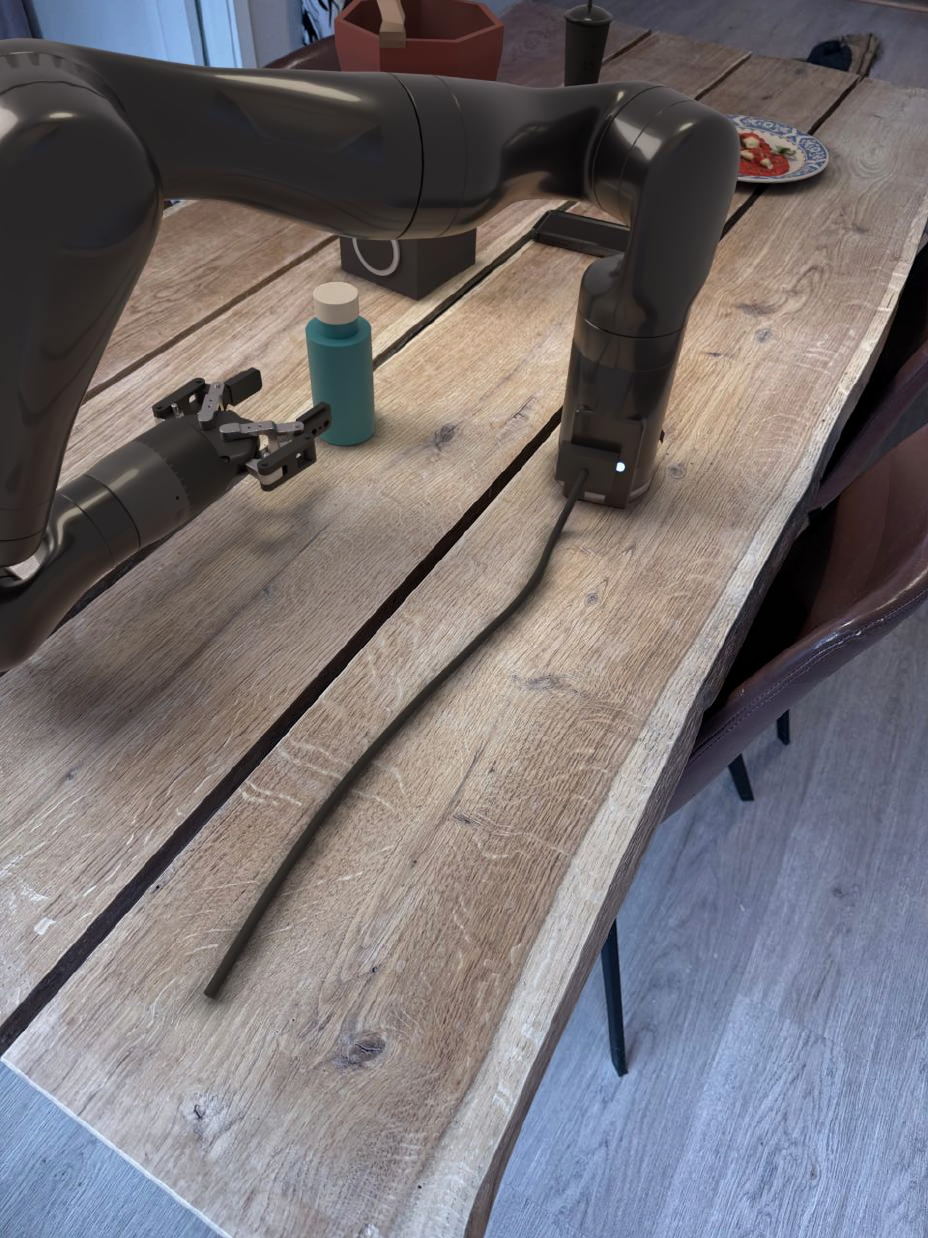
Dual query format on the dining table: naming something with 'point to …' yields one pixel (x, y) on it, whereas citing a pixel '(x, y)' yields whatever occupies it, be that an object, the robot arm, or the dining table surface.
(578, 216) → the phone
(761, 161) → the ceramic plate
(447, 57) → the bucket
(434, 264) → the washer
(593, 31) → the drinking cup
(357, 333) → the detergent bottle
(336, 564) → the dining table surface
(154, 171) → the robot arm
